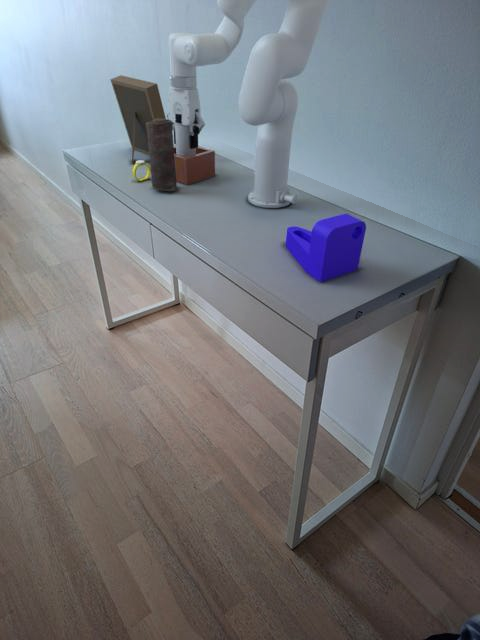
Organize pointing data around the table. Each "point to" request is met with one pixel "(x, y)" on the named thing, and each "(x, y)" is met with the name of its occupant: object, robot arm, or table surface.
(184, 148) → the travel mug
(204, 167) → the holder
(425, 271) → the table surface
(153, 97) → the photo frame
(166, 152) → the dark brown tall block
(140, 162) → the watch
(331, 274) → the bracket
